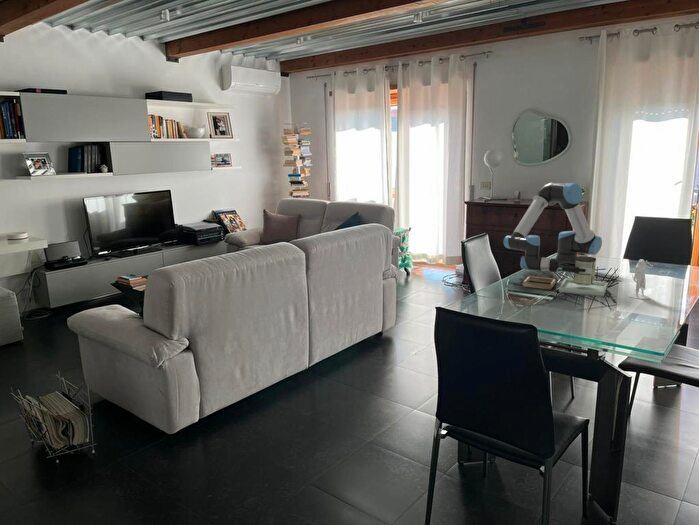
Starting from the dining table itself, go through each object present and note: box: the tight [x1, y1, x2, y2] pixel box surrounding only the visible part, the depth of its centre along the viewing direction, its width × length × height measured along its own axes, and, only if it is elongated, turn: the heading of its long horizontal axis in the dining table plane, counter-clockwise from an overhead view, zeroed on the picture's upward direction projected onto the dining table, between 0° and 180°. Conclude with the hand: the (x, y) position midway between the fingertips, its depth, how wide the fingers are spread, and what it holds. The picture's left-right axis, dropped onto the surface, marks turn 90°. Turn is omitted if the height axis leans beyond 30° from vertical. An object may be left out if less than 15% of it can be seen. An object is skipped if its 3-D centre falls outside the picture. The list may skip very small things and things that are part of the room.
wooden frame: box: [522, 275, 557, 290], centre depth 298 cm, size 15×15×2 cm
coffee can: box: [573, 255, 597, 286], centre depth 285 cm, size 10×10×14 cm
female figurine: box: [628, 258, 654, 300], centre depth 268 cm, size 11×16×20 cm
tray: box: [558, 278, 608, 298], centre depth 287 cm, size 22×22×2 cm
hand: (593, 268), depth 283 cm, fingers closed on coffee can, 10 cm apart
